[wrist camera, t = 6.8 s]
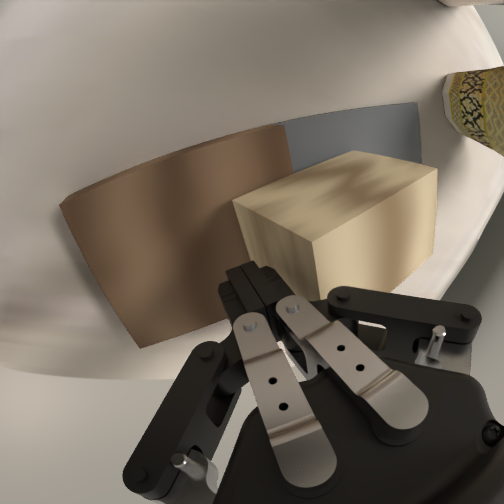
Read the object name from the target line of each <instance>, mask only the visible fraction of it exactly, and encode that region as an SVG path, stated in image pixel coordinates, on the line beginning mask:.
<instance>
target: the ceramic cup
mask: <svg viewBox="0 0 504 504" xmlns="http://www.w3.org/2000/svg"><path fill="white" fill-rule="evenodd" d="M442 96H443V103H444V110H445V116H446V118H447V119H448V120H449V122H450V123H451V124H452V126H453V127H454V128H455V130H456V131H457V132H459V133H461V134H463V135H465V136H467V137H469V138H471V139H473V140H475V141H477V142H479V143H481V144H483V145H485V146H487V147H488V148H490V149H493V150H495V151H496V152H498V153H499V154H501V155H502V156H504V66H501V67H497V68H492V69H485V70H475V71H467V72H457V73H451V74H449V75H447V77H446V80H445V83H444V86H443V89H442Z"/></svg>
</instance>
